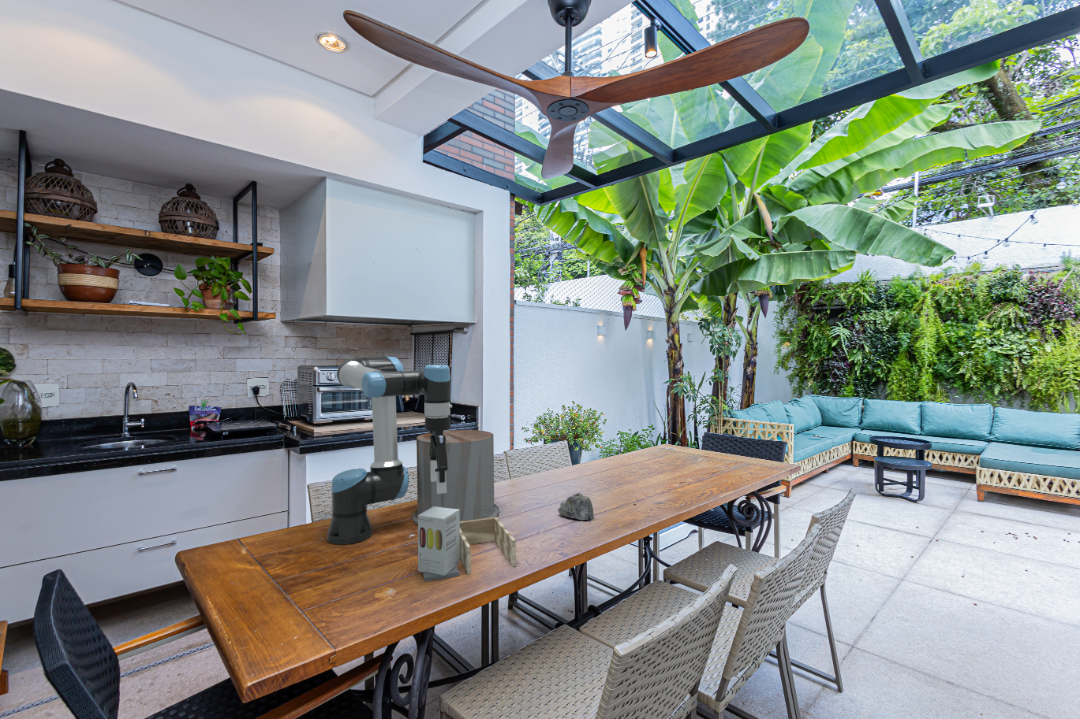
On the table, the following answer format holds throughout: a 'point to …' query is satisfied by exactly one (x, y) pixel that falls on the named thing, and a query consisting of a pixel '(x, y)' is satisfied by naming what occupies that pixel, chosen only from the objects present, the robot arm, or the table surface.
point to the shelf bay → (485, 539)
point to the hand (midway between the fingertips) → (438, 486)
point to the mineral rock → (577, 507)
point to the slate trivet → (432, 576)
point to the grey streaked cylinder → (459, 475)
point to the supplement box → (438, 540)
